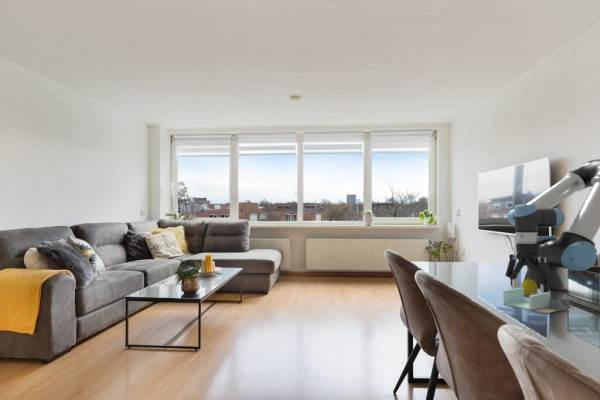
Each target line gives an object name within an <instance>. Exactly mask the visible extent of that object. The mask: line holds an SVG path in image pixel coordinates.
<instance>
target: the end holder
mask: <svg viewBox="0 0 600 400" xmlns="http://www.w3.org/2000/svg"><path fill="white" fill-rule="evenodd" d="M502 293H503V296H502V297H503V305H505V306H509V307H513V308H517V307H518V309H521V308H522V309H523V310H525V309H526V311H529V310H530V312H534V311H535V310H540V309H544V308H548V307H550V306H551V305H550V300H551V293H550V291H549V292H545V293H541V292H539V293H540V294H535V295H530V296H528V299H525V295H524V289H523V288H522V287H521V286H520V287H519V288H514V289H513V288H511V289H510V288H509V289H504V290H502Z"/></svg>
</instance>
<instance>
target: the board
mask: <svg viewBox="0 0 600 400" xmlns="http://www.w3.org/2000/svg"><path fill="white" fill-rule="evenodd" d="M574 307H575V306H573V305H570V307H569V308H565V309H561V310H559V309H554V308H550V307H548V308H544V309H540V310H535V311H533V313H539V314H544V315H545V314H550V313H553V312H558V311H562V310H566V309H570V308H574ZM516 308H518V307H516ZM518 309H519V308H518ZM520 309H522V308H520ZM524 310H526V309H524ZM526 311H527V310H526ZM528 311H530V310H528ZM530 312H531V311H530Z"/></svg>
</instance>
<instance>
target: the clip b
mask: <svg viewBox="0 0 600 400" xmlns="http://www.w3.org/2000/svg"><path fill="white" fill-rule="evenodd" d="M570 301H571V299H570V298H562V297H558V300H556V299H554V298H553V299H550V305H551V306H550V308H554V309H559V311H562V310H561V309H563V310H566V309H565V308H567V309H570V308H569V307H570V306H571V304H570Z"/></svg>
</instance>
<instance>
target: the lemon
mask: <svg viewBox="0 0 600 400" xmlns="http://www.w3.org/2000/svg"><path fill="white" fill-rule="evenodd" d="M520 287H522V288H523V289H524V297H529V296H530V293H539V289H538V287H537V284H536V283H535V282H534V281H533V280H531V279H529V278H528V279H526V280H524V279H523V281H522V283H521V286H520Z"/></svg>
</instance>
